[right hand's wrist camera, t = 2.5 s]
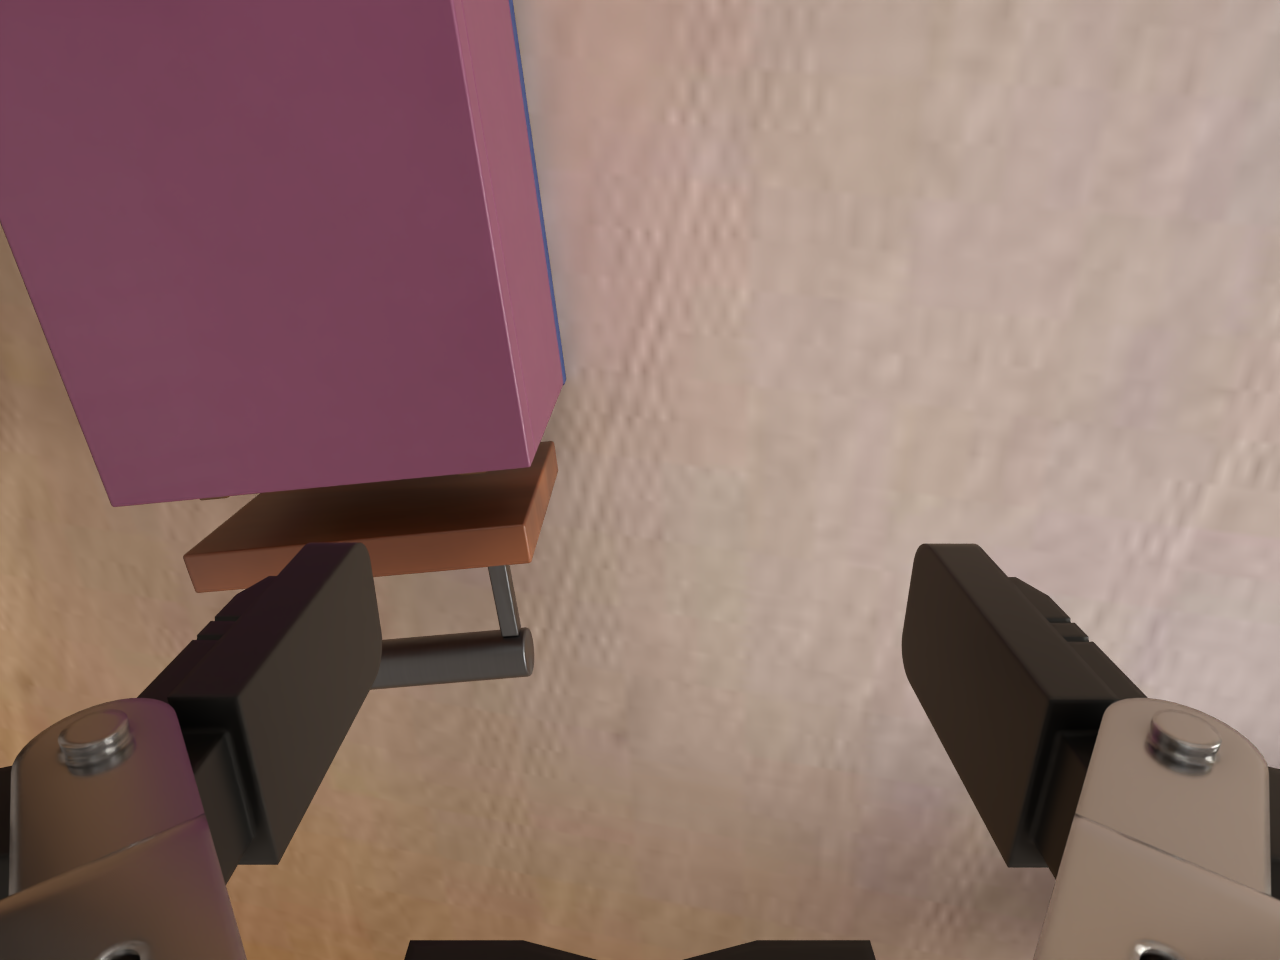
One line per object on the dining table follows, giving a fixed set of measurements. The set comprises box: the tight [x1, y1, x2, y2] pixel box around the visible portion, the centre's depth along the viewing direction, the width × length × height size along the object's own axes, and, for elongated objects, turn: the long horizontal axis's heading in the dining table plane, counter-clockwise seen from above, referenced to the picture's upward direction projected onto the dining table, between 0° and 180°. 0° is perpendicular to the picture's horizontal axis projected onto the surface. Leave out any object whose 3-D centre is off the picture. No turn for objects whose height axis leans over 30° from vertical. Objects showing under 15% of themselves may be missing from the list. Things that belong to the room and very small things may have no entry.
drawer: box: [183, 441, 558, 690], centre depth 22 cm, size 24×9×7 cm, turn 6°
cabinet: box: [0, 0, 566, 507], centre depth 19 cm, size 19×11×9 cm, turn 6°
